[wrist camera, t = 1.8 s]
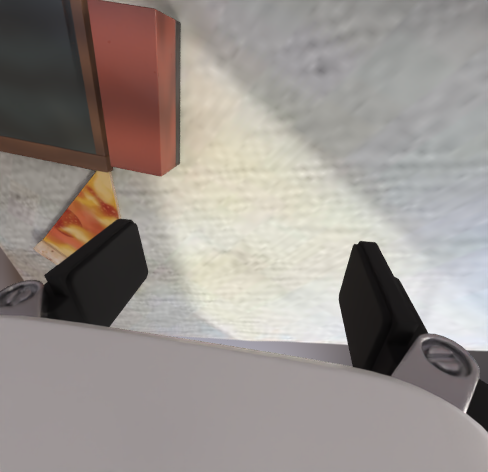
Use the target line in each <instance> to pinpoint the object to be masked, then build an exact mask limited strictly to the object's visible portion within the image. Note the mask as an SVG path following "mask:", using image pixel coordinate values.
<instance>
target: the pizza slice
mask: <svg viewBox="0 0 488 472" xmlns="http://www.w3.org/2000/svg"><path fill="white" fill-rule="evenodd" d="M117 219H121V216H120V211H119V206H118V202H117V197H116V193H115V188H114V183H113V179H112V174H111V171H110V172H108V173H106V172H101V171H96V173H95V174H94V175H93V177H92V178H91V179H90V180H89V182H88V183H87V184H86V185H85V187H84V188H83V189H82V191H81V192H80V193H79V194H78V196H77V197H76V198H75V200H74V201H73V202H72V203H71V205H70V206H69V207H68V208H67V210H66V211H65V212H64V214H63V215H62V216H61V217H60V219H59V220H58V221H57V223H56V224H55V225H54V226H53V228H52V229H51V230H50V231H49V233H48V234H47V235H46V237H45V238H44V239H43V240H42V241H41V242H39V243H38V244H37V245H36V246H35V247H34V248H33V249H34V250H35V251H37V252H38V253H40V254H41V255H43V256H44V257H46V258H47V259H49V260H50V261H52V262H53V263H55V264H56V265H58V264H60V263H61V262H62V261H63V260H65V259H66V258H67V257H69V256H70V255H71V254H73V253H74V252H75V251H76V250H78V249H79V248H80V247H82V246H83V245H84V244H86V243H87V242H88V241H89V240H91V239H92V238H93V237H95V236H96V235H97V234H99V233H100V232H101V231H102V230H104V229H105V228H106V227H108V226H109V225H110V224H112V223H113V222H114V221H115V220H117Z"/></svg>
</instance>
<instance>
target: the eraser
mask: <svg viewBox="0 0 488 472" xmlns="http://www.w3.org/2000/svg"><path fill="white" fill-rule="evenodd" d="M87 4H88V11H89V18H90V25H91V32H92V38H93V45H94V52H95V59H96V66H97V73H98V80H99V87H100V94H101V101H102V108H103V115H104V122H105V129H106V136H107V143H108V150H109V157H110V164H111V166H112V167H117V168H122V169H127V170H132V171H136V172H141V173H146V174H151V175H156V176H163V175H164V174H166V173H167V172H168V171H170V170H171V169H173V168H174V167H176V166H177V165H178V164H180V22H178V21H176V20H175V19H173V18H171V17H169V16H167V15H165V14H164V13H162V12H160V11H158V10H156V9H154V8H147V7H141V6H134V5H128V4H122V3H115V2H109V1H102V0H87Z"/></svg>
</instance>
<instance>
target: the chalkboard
mask: <svg viewBox="0 0 488 472" xmlns="http://www.w3.org/2000/svg"><path fill="white" fill-rule="evenodd" d="M0 151H3V152H7V153H12V154H17V155H22V156H27V157H32V158H37V159H42V160H47V161H52V162H57V163H62V164H67V165H72V166H76V167H81V168H86V169H91V170H96V171H101V172H106V173H108V172H110V171H112V170H113V167H112V166H111V164H110V157H109V150H108V143H107V136H106V129H105V122H104V115H103V108H102V101H101V94H100V87H99V80H98V73H97V66H96V59H95V52H94V45H93V38H92V32H91V25H90V18H89V11H88V4H87V0H0Z"/></svg>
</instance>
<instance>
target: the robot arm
mask: <svg viewBox="0 0 488 472" xmlns="http://www.w3.org/2000/svg"><path fill="white" fill-rule="evenodd" d="M147 275H148V268H147V264H146V260H145V256H144V252H143V248H142V244H141V239H140V235H139V231H138V227H137V225H136V224H135V223H134V222H133V221H132V220H127V219H117V220H115V221H114V222H113V223H112V224H110V225H109V226H108V227H106V228H105V229H104V230H102V231H101V232H100V233H99V234H97V235H96V236H95V237H93V238H92V239H91V240H89V241H88V242H87V243H86V244H84V245H83V246H82V247H80V248H79V249H78V250H76V251H75V252H74V253H73V254H71V255H70V256H69V257H67V258H66V259H65V260H63V261H62V262H61V263H60V264H58V265H57V266H56V267H54V268H53V269H52V270H50V271H49V272H48V273H47V274H45V275H44V276H45V278H46V280H47V281H48V282H47V283H46V284H45V285H43V283H42V282H40V281H37V280H27V281H22V282H18V283H15V284H12V285H10V286H8V287H6V288H4V289H3V290H1V291H0V472H488V384H486V383H485V382H483V381H481V380H480V379H479V375H480V369H479V367H478V365H477V362H476V361H475V360H474V358H473V357H472V356H471V354H469V353H468V352H467V351H466V350H465V349H464V348H463V347H462V346H460V345H459V344H457V343H456V342H454V341H452V340H450V339H448V338H446V337H444V336H440V335H437V334H428V332H427V330H426V328H425V326H424V324H423V323H422V321H421V319H420V317H419V315H418V313H417V312H416V310H415V308H414V306H413V304H412V302H411V300H410V299H409V297H408V295H407V293H406V291H405V289H404V288H403V286H402V284H401V282H400V281H399V279H398V278H396V277H394V276H393V274H392V272H391V270H390V268H389V266H388V264H387V262H386V260H385V259H384V257H383V255H382V253H381V251H380V249H379V247H378V245H377V244H376V243H375V242H365V241H360V242H359V243H358V244H354V245H353V248H352V251H351V255H350V258H349V262H348V265H347V269H346V272H345V276H344V279H343V283H342V286H341V290H340V293H339V304H340V308H341V313H342V318H343V323H344V327H345V332H346V337H347V341H348V346H349V351H350V355H351V360H352V364H353V367H350V366H346V365H340V364H335V363H329V362H323V361H317V360H312V359H307V358H301V357H295V356H289V355H283V354H277V353H271V352H264V351H258V350H252V349H246V348H239V347H234V346H227V345H221V344H215V343H208V342H202V341H196V340H190V339H183V338H177V337H171V336H164V335H158V334H151V333H145V332H138V331H132V330H125V329H119V328H112V327H110V325H111V324H112V323H113V321H114V320H115V319H116V317H117V316H118V315H119V313H120V312H121V311H122V309H123V308H124V307H125V306H126V304H127V303H128V302H129V300H130V299H131V298H132V296H133V295H134V294H135V292H136V291H137V290H138V288H139V287H140V286H141V284H142V283H143V282H144V280H145V279H146V278H147Z"/></svg>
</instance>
